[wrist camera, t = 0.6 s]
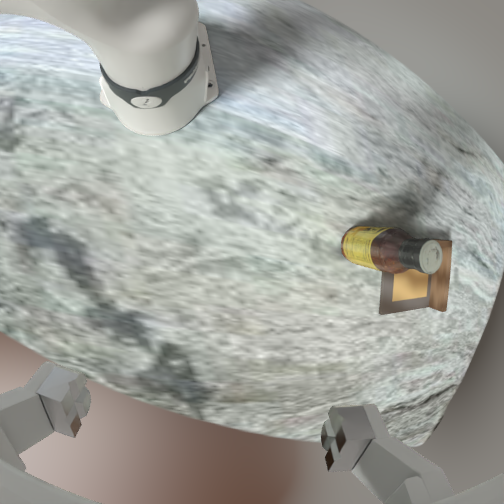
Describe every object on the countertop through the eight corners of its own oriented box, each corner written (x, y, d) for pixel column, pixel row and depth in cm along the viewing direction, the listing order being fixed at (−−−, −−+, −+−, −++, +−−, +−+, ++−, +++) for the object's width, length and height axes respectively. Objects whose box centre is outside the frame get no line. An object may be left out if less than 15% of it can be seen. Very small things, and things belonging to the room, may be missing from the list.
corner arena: (383, 239, 51) (400, 241, 47) (434, 239, 54) (452, 240, 49) (378, 313, 53) (394, 321, 48) (430, 305, 55) (446, 311, 51)
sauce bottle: (374, 233, 51) (457, 242, 32) (362, 267, 51) (443, 291, 32) (343, 219, 50) (424, 221, 30) (331, 255, 50) (408, 275, 30)
